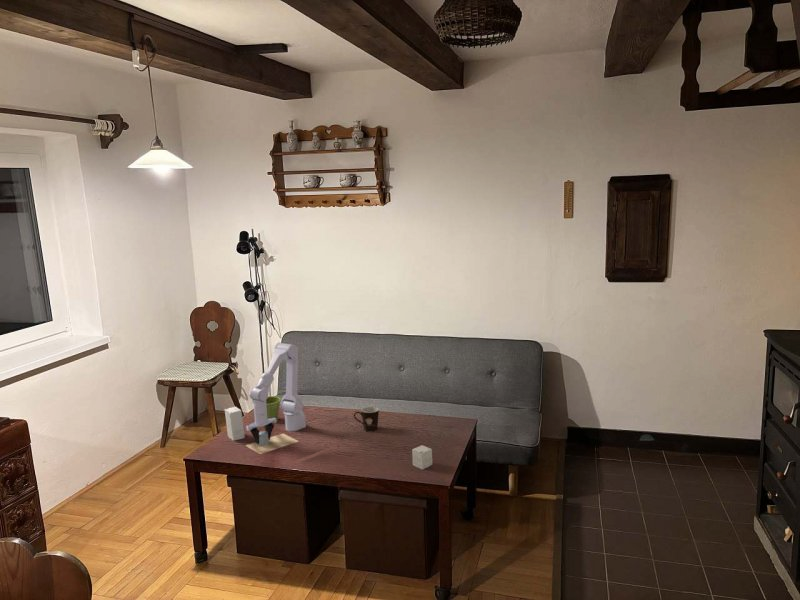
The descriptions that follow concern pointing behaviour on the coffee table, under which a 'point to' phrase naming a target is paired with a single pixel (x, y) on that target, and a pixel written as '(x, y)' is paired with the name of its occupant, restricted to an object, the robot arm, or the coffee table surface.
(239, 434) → the skincare box
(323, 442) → the coffee table surface
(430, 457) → the skincare box
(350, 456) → the coffee table surface
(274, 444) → the board
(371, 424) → the coffee mug
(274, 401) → the plant pot
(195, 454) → the coffee table surface
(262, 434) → the cap
